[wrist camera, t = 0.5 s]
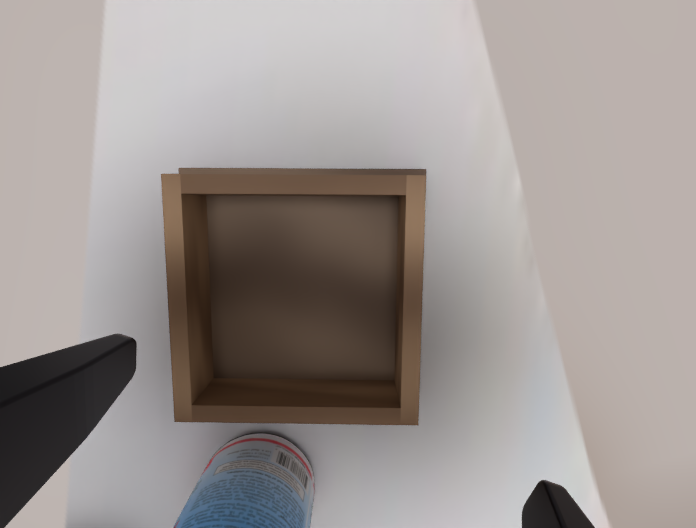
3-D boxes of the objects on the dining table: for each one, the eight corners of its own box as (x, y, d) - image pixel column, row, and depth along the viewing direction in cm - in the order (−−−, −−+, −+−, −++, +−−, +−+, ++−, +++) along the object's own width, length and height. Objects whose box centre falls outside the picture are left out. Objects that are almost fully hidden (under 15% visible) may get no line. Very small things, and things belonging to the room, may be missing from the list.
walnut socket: (416, 397, 23) (429, 435, 19) (195, 394, 23) (164, 432, 19) (423, 170, 21) (438, 162, 17) (185, 169, 21) (148, 161, 17)
